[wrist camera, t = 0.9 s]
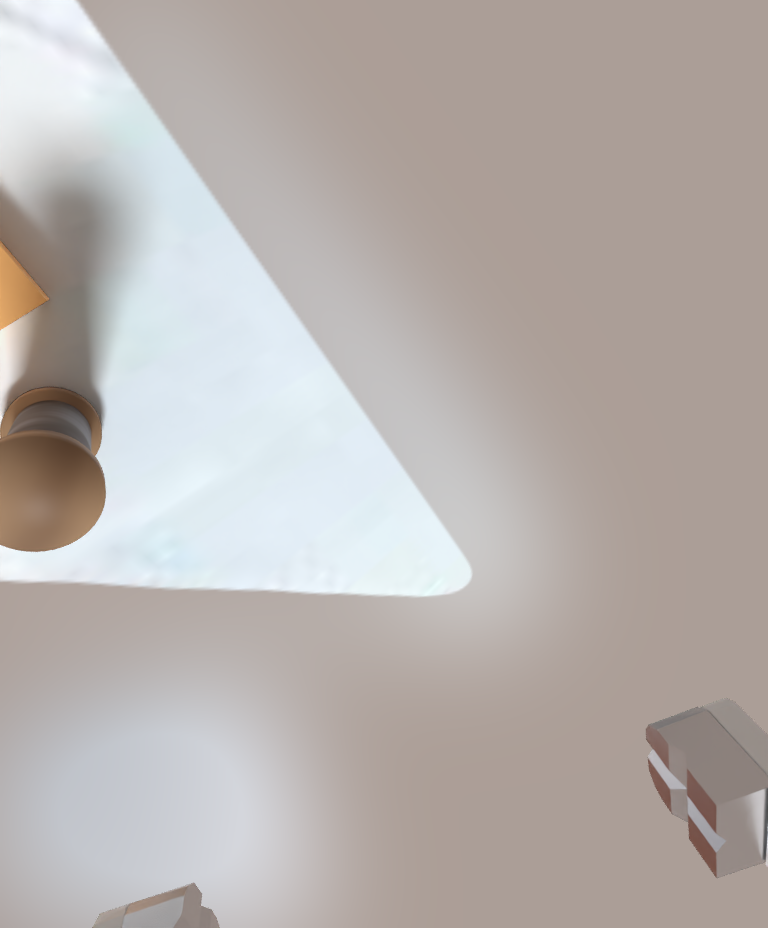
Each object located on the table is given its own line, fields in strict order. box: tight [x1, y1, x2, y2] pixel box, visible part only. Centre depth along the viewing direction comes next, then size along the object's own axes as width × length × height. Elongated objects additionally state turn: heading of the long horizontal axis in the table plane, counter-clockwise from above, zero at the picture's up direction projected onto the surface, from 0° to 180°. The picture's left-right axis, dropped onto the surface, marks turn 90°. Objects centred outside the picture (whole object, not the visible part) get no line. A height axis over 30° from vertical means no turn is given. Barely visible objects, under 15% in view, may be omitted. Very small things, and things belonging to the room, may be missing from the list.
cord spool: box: [0, 387, 106, 552], centre depth 37 cm, size 6×6×15 cm
